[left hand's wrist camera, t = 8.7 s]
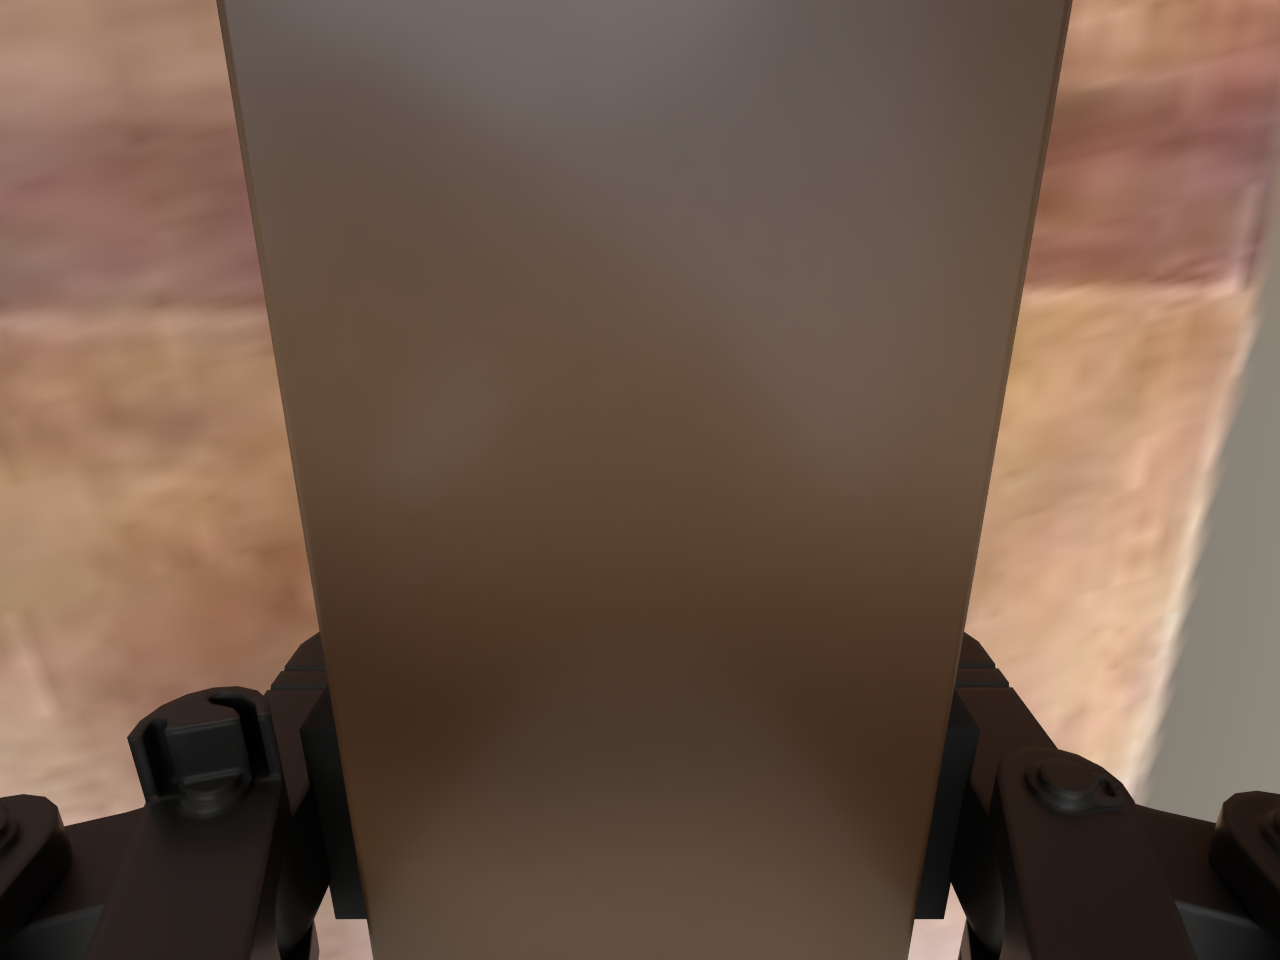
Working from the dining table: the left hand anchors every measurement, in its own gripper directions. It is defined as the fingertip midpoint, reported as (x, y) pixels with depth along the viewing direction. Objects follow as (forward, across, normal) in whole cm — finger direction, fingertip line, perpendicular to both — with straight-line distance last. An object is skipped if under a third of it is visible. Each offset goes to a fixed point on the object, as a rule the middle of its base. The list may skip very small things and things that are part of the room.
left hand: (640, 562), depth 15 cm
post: (+1, 0, -30) cm, 30 cm away
